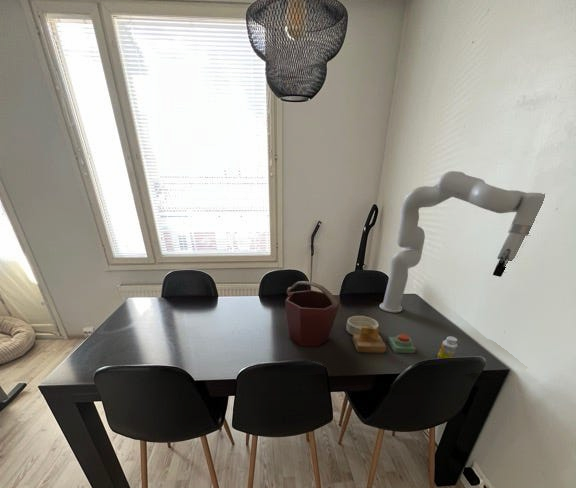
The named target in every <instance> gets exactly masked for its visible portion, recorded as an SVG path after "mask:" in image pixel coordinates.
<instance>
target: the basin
mask: <svg viewBox="0 0 576 488" xmlns="http://www.w3.org/2000/svg"><path fill="white" fill-rule="evenodd" d="M345 326H346V327H345V331H346V332H347V333H348V334H350V335H351V336H353V334H360V333H361V328H362V326H367V327H374V328H379V322H378V321H377V320H376V319H374V318H372V317H369V316H364V315H353V316H350V317H348V318H347V321H346V325H345Z"/></svg>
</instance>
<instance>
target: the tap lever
mask: <svg viewBox="0 0 576 488" xmlns="http://www.w3.org/2000/svg"><path fill="white" fill-rule="evenodd" d="M379 333H380V327H378V328H374V327H367V326H362V328H361V333H360V338H366V339H373V340H377V338H378V335H380V334H379Z"/></svg>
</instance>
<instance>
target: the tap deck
mask: <svg viewBox="0 0 576 488" xmlns="http://www.w3.org/2000/svg"><path fill="white" fill-rule="evenodd" d="M352 342H353V344H354V347H355V349H356V352H357V353H379V354H380V353H384V354H385V353H386V349H387V346H386V344H385V342H384V340H383V338H382V337H381V334H378V338H377V340H373V339H366V338H360V334H353V335H352Z"/></svg>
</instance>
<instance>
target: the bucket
mask: <svg viewBox="0 0 576 488" xmlns="http://www.w3.org/2000/svg"><path fill="white" fill-rule="evenodd" d="M299 285H307V286H311V287H314V288H316V289H318V290H319V291H318V290H315V289H314V290H313V289H307V290H299V291H292V290H295V289H296V288H297V287H298V286H299ZM286 294H287V297H286V299H285V304H284V305H285V306H284V308H285V313H286V314H285V315H286V320H287V326H288V333H289V338H290V340H291V341H293V342H295V343H296V344H298V345H299V346H301V347H302V346H303V347H319V346H321V345H322V344H324V343H326V342H327V341H328V339H329V336H330V334H331V331H332V328H333V326H334V323H335V320H336V317H337V315H338V312H339V308H340V302H339V300H338V299H337V298H336V297H335V296H334V295H333V293H332V292H331V291H330V290H328V289H327V288H326V287H325V286H324V285H322V284H319V283H316V282H313V281H307V280H301V281H300V280H299V281H296V282H294V283H293V284H292V285H291V286H289V287H288V288H287V290H286Z"/></svg>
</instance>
